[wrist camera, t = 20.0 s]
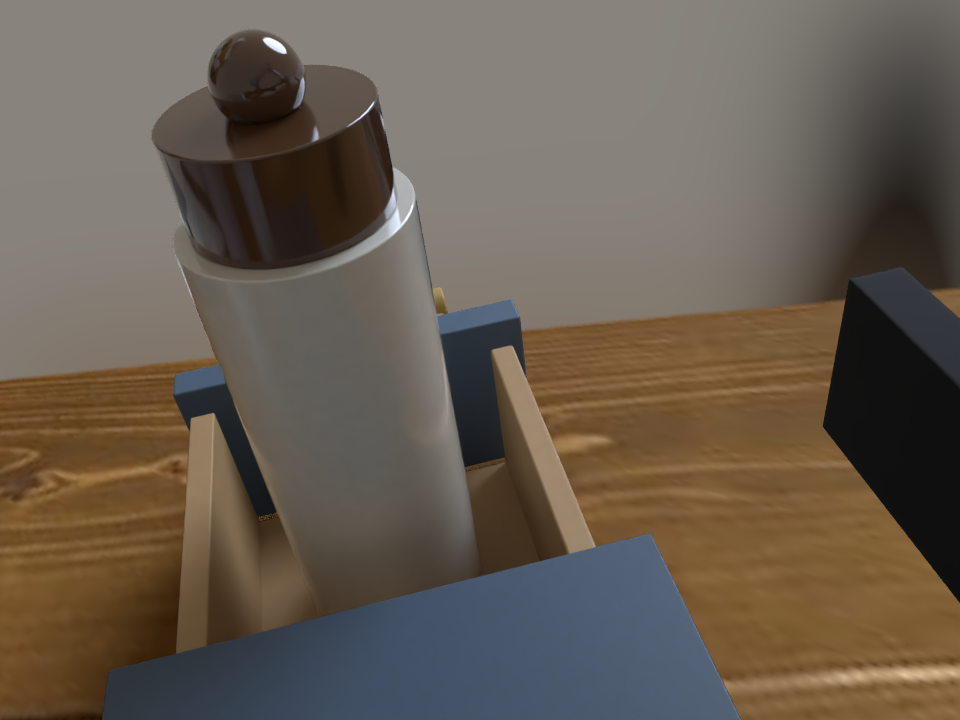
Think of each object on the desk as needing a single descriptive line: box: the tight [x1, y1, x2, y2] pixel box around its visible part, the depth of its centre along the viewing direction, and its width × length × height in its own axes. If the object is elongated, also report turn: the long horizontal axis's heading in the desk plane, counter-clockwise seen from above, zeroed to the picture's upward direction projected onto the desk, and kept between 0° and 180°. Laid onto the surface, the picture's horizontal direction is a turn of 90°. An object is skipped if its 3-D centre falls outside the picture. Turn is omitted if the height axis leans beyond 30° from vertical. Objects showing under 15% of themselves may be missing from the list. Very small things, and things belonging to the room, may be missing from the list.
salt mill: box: [152, 29, 484, 617], centre depth 23 cm, size 6×6×19 cm
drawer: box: [173, 288, 596, 653], centre depth 29 cm, size 20×12×7 cm, turn 12°
